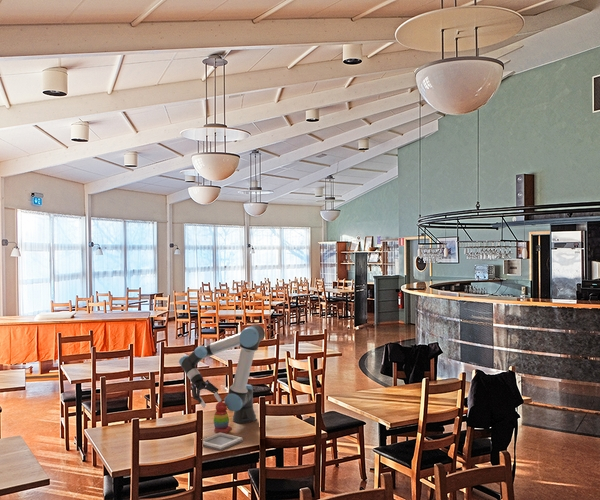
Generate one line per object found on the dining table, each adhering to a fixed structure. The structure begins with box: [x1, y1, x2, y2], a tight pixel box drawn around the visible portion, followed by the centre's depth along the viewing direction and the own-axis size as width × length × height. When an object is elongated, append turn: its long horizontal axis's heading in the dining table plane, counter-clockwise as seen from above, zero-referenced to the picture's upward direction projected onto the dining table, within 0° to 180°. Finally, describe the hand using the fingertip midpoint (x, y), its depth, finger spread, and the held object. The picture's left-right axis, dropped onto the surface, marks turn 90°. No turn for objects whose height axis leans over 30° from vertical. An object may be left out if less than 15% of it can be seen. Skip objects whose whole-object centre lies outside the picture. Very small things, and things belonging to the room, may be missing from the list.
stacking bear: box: [213, 400, 232, 434], centre depth 361 cm, size 11×10×18 cm
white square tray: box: [202, 433, 243, 451], centre depth 339 cm, size 18×18×2 cm
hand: (212, 403), depth 365 cm, fingers open, 13 cm apart
